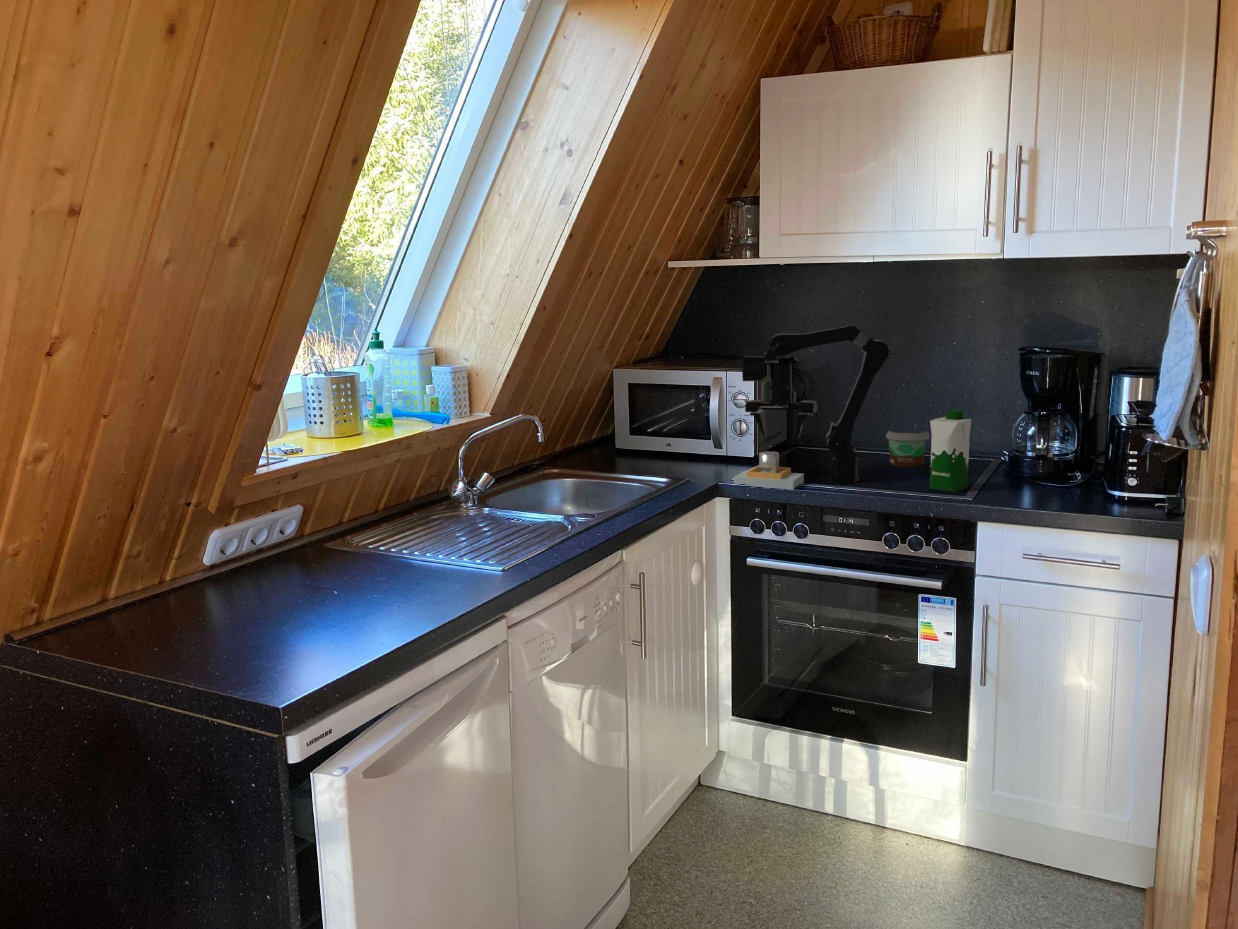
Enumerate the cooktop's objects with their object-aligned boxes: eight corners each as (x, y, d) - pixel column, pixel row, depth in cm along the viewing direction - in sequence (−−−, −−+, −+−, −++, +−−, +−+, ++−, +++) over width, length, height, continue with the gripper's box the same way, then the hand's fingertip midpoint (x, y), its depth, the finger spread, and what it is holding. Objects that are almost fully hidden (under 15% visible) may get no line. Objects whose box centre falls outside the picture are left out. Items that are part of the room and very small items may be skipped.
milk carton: (972, 487, 260) (975, 411, 257) (955, 493, 254) (958, 414, 250) (940, 483, 266) (943, 408, 263) (923, 489, 260) (926, 412, 256)
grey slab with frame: (803, 482, 271) (803, 468, 271) (793, 490, 262) (793, 475, 261) (745, 478, 278) (745, 464, 278) (733, 486, 269) (733, 471, 268)
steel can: (781, 473, 271) (781, 452, 270) (775, 477, 266) (775, 455, 265) (762, 472, 273) (762, 451, 272) (756, 476, 269) (756, 454, 268)
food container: (886, 467, 290) (887, 433, 289) (885, 464, 296) (886, 430, 294) (931, 468, 288) (932, 433, 286) (928, 464, 294) (929, 430, 292)
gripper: (821, 378, 274) (821, 434, 277) (755, 377, 282) (756, 432, 284) (812, 382, 264) (812, 440, 267) (744, 381, 271) (744, 438, 274)
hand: (781, 437), depth 273 cm, fingers open, 9 cm apart
